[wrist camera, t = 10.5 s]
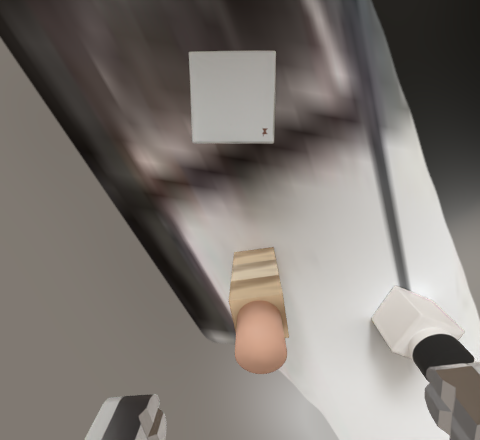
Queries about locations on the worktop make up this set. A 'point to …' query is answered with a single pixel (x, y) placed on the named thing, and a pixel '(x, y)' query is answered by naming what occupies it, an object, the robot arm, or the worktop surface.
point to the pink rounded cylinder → (260, 338)
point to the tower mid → (254, 270)
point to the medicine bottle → (420, 330)
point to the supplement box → (232, 96)
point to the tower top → (257, 296)
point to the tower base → (254, 256)
